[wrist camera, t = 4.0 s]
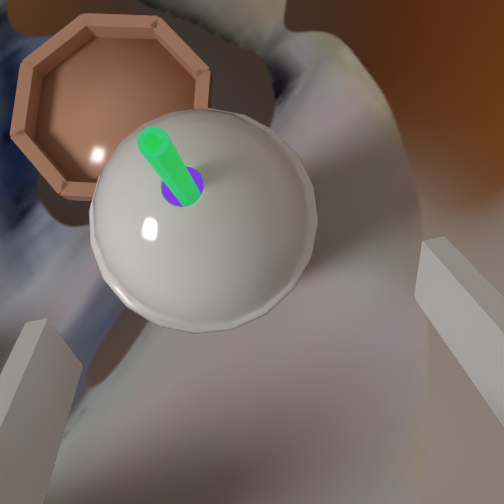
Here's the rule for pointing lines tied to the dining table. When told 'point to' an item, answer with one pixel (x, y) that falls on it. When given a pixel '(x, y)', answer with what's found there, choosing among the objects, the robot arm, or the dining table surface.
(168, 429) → the dining table surface
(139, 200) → the smoothie
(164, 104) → the saucer
